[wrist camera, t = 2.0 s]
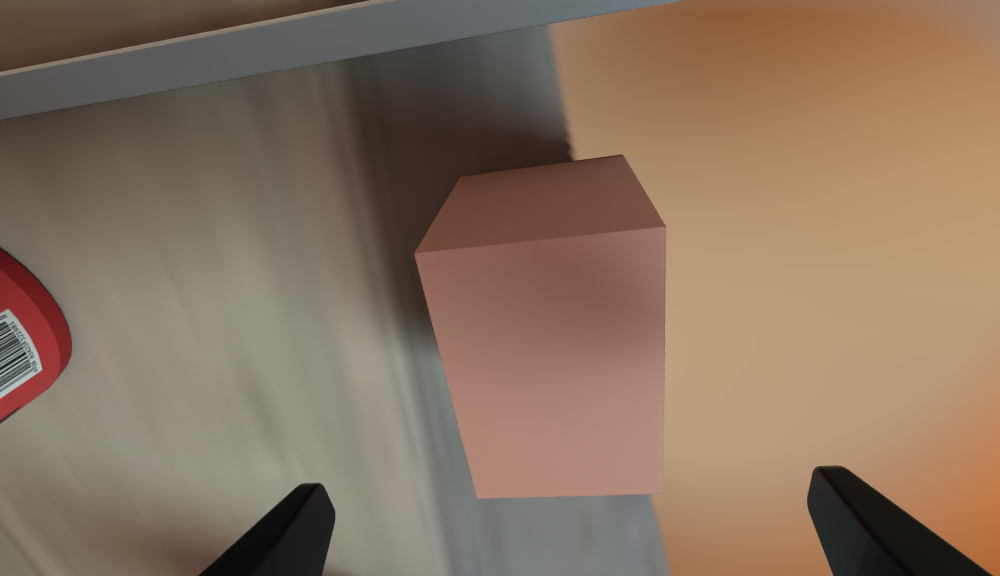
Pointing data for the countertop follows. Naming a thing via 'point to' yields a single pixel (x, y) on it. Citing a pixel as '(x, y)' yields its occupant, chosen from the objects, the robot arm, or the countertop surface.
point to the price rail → (278, 47)
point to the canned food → (28, 338)
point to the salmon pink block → (552, 328)
